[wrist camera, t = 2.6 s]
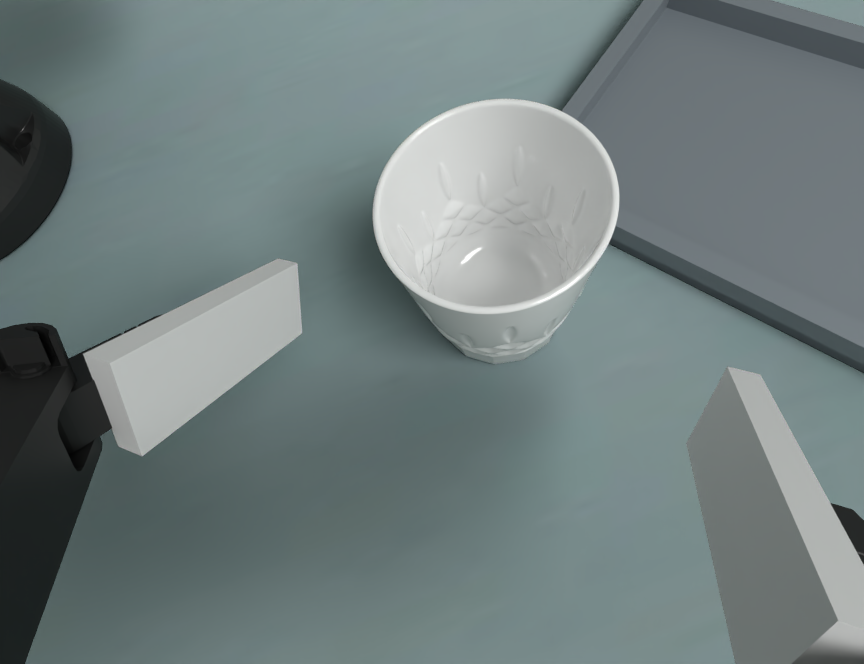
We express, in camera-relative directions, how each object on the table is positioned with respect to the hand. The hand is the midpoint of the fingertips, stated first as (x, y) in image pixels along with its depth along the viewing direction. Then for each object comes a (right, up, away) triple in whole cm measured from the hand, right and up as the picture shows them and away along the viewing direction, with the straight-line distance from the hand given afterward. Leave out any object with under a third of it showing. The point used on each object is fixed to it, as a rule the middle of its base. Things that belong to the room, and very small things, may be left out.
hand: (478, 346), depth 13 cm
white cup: (+2, +2, +10) cm, 11 cm away
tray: (+16, +10, +10) cm, 21 cm away
